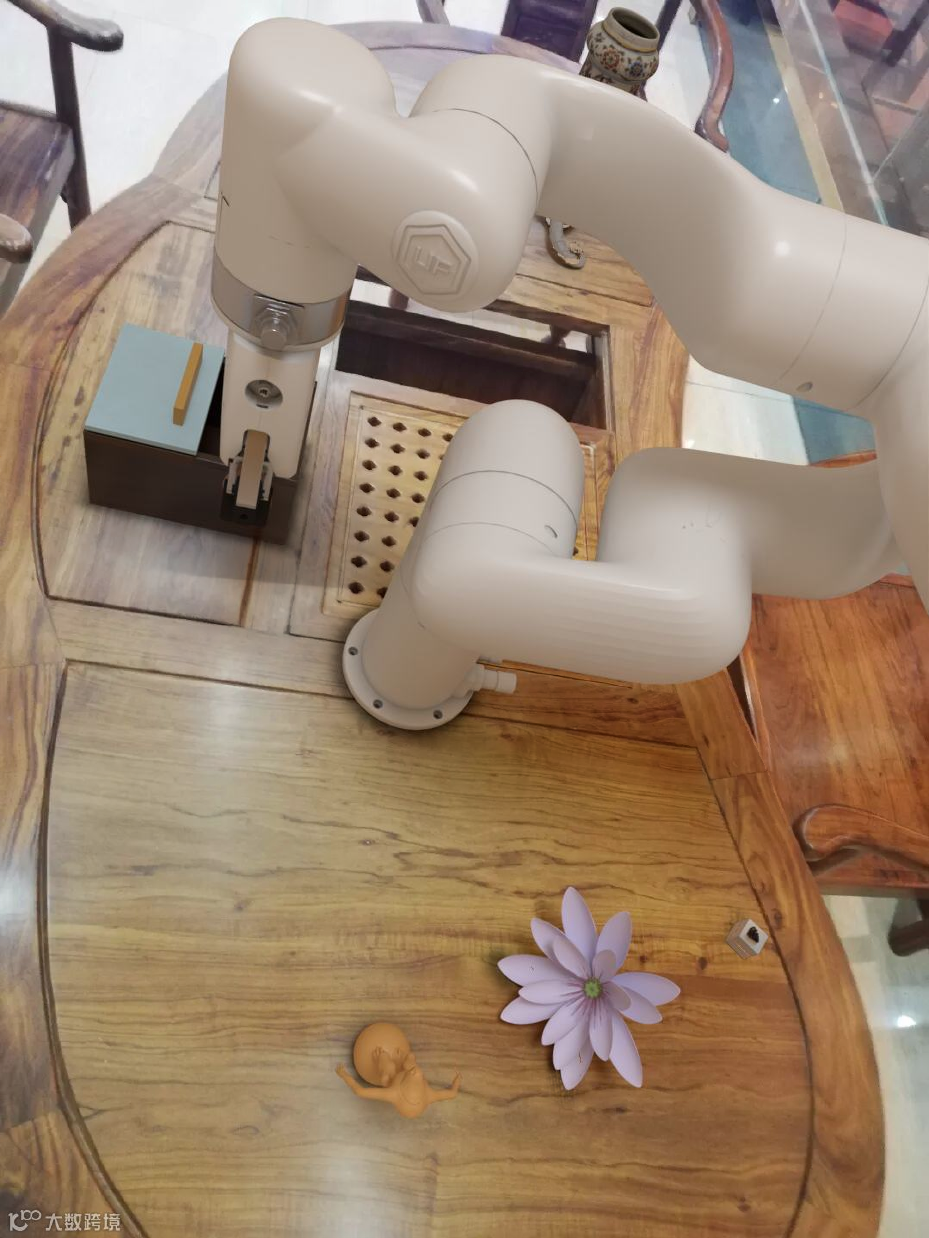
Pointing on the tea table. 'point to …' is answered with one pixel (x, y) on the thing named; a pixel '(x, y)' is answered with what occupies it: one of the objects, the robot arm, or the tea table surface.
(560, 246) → the seahorse
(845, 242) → the robot arm
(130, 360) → the light blue lid
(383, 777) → the tea table surface
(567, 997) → the water lily
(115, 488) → the tea box
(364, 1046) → the figurine
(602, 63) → the apothecary jar
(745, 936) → the cube with dark pebbles
